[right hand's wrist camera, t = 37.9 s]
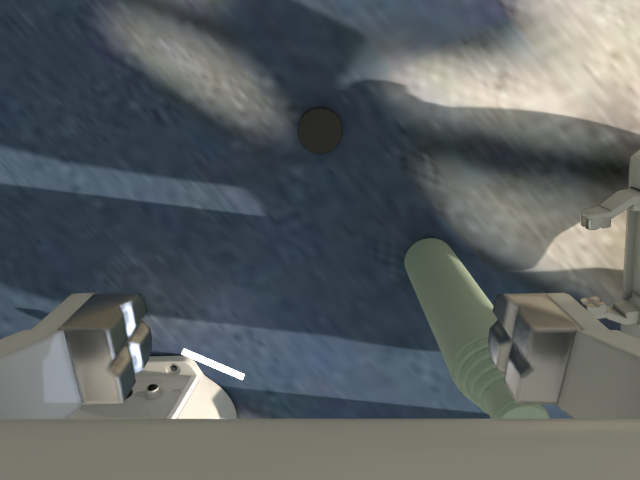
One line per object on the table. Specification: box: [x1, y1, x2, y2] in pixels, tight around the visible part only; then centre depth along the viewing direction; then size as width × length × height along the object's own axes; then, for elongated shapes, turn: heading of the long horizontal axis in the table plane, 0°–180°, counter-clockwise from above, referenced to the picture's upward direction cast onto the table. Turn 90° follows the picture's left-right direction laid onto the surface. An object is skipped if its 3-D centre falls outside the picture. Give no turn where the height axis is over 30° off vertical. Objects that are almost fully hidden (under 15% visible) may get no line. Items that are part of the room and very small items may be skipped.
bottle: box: [404, 238, 549, 419], centre depth 37 cm, size 5×5×24 cm
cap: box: [298, 107, 342, 154], centre depth 42 cm, size 4×4×2 cm
